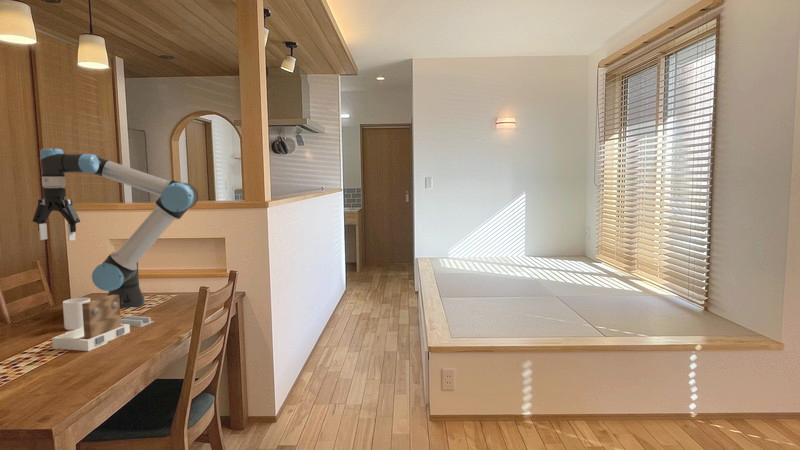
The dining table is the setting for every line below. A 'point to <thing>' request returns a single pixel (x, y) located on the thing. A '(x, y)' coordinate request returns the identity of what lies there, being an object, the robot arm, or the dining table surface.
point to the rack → (136, 321)
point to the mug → (73, 313)
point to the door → (101, 316)
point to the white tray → (77, 341)
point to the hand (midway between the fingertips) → (57, 240)
